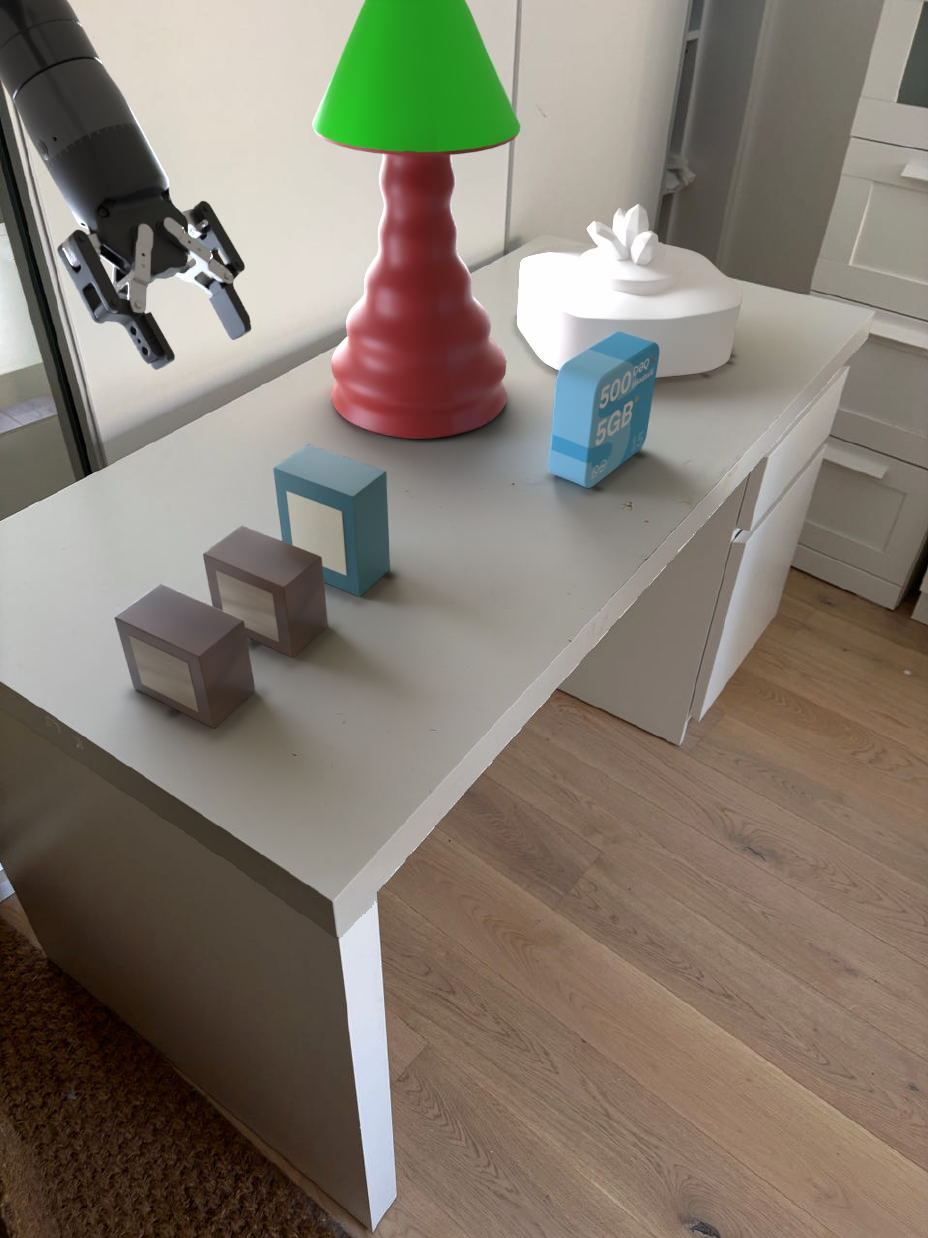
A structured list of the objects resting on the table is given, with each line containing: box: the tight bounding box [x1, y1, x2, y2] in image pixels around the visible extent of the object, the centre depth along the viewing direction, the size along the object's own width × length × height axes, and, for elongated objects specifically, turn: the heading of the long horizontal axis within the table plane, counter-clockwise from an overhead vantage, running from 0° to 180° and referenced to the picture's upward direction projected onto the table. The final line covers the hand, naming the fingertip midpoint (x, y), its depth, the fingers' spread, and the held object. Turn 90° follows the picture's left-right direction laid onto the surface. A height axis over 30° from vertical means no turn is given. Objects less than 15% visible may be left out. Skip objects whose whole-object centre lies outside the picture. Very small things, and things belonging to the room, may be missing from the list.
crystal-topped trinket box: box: [516, 203, 744, 379], centre depth 119 cm, size 25×25×16 cm
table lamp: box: [312, 0, 521, 440], centre depth 95 cm, size 20×20×45 cm
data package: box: [548, 332, 659, 489], centre depth 96 cm, size 12×4×12 cm, turn 142°
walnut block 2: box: [202, 524, 329, 658], centre depth 76 cm, size 5×8×7 cm, turn 59°
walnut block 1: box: [113, 583, 256, 729], centre depth 70 cm, size 5×8×7 cm, turn 59°
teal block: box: [272, 443, 391, 597], centre depth 81 cm, size 5×8×10 cm, turn 59°
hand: (205, 349), depth 76 cm, fingers open, 8 cm apart
